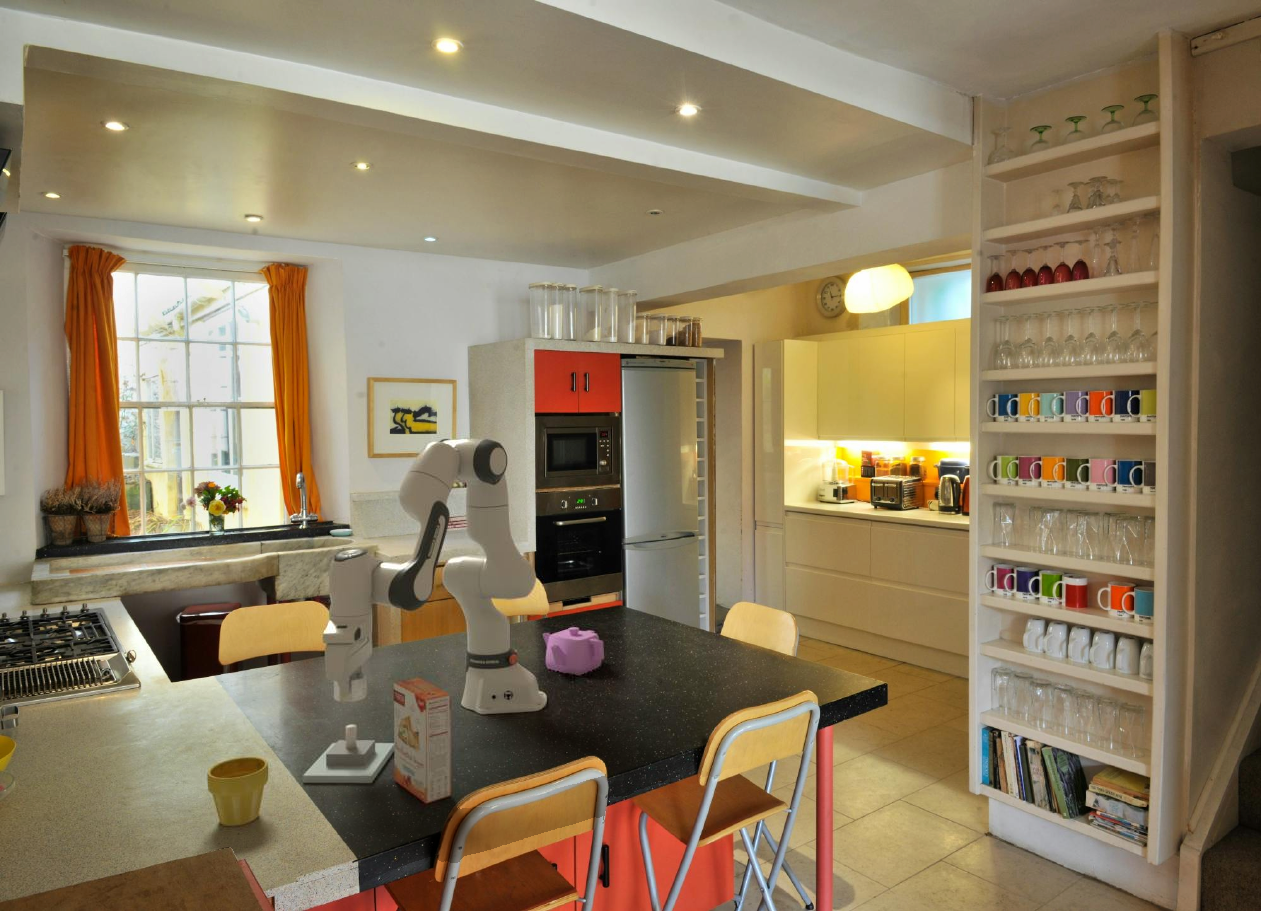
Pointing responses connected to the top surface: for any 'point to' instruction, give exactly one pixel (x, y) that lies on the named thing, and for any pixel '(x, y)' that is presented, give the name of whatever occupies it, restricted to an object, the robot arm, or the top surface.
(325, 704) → the top surface
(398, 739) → the cracker box
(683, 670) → the top surface
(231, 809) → the plant pot
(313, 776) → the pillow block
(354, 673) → the ring
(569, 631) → the teakettle
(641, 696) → the top surface
